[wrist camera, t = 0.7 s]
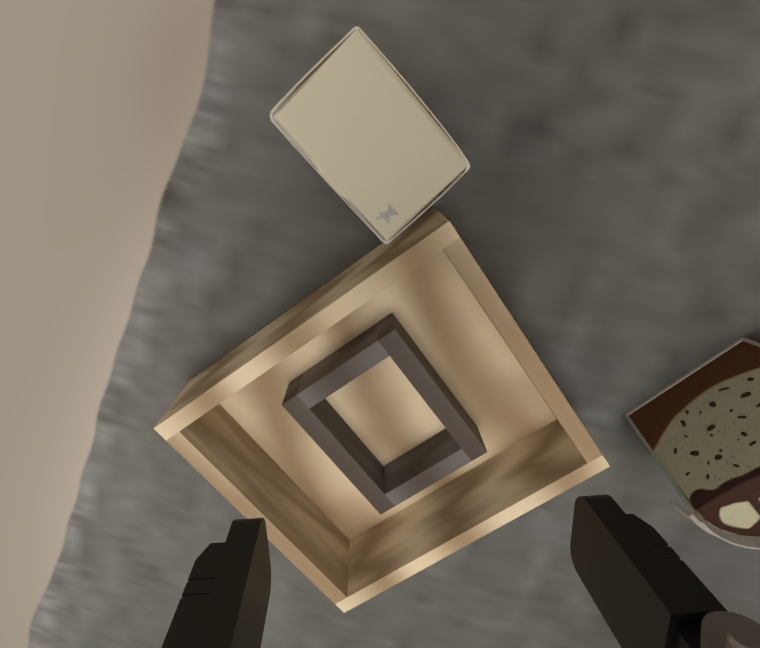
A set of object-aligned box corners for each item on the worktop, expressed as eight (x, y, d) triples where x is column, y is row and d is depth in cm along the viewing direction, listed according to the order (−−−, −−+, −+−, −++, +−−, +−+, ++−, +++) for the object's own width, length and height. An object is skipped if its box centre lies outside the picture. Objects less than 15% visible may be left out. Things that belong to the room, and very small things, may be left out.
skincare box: (436, 161, 28) (482, 172, 17) (381, 212, 29) (390, 254, 18) (361, 71, 27) (357, 15, 15) (306, 128, 28) (263, 115, 16)
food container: (646, 478, 37) (741, 592, 27) (605, 426, 35) (691, 527, 26) (798, 384, 34) (960, 474, 25) (762, 323, 33) (922, 394, 23)
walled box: (433, 206, 29) (449, 220, 24) (570, 414, 35) (609, 466, 29) (190, 380, 33) (153, 428, 27) (347, 544, 38) (344, 612, 33)
